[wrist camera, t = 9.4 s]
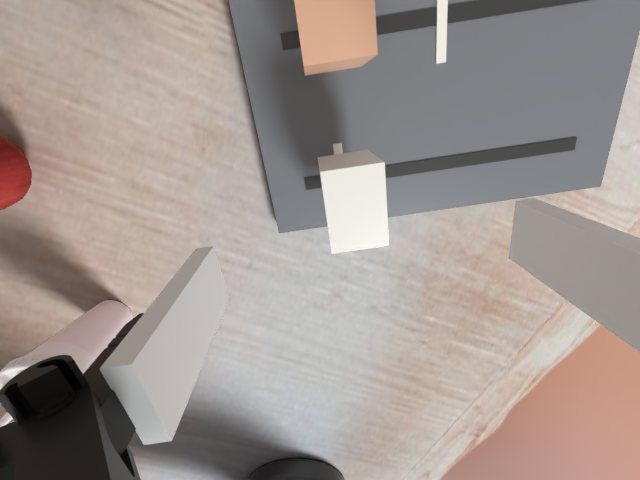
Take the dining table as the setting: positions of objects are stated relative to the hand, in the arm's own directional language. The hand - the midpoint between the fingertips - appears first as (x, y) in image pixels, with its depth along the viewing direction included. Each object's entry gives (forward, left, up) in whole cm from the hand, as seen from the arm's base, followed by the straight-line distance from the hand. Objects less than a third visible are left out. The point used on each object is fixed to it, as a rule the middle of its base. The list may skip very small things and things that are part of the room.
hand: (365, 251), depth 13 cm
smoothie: (-11, +25, -14) cm, 31 cm away
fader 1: (+10, 0, -12) cm, 16 cm away
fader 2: (0, 0, -12) cm, 12 cm away
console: (+5, -8, -14) cm, 17 cm away
